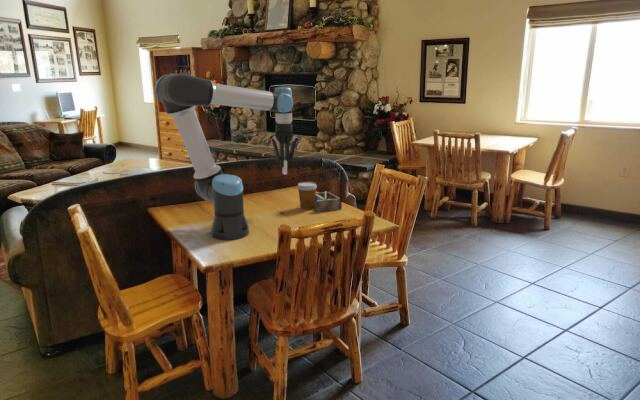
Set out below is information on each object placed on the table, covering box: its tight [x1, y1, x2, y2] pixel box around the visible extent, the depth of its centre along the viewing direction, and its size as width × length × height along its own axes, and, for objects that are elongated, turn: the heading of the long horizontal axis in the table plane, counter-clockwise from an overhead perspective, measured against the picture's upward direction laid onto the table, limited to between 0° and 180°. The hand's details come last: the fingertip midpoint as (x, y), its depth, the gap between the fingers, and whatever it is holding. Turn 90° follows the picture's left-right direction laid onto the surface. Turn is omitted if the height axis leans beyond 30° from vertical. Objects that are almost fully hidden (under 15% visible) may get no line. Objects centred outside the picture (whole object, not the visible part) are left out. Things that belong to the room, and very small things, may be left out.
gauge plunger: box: [314, 190, 327, 206], centre depth 220 cm, size 6×11×9 cm, turn 22°
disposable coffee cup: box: [296, 181, 318, 211], centre depth 217 cm, size 10×10×12 cm
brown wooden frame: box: [315, 191, 343, 213], centre depth 220 cm, size 12×16×5 cm
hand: (284, 173), depth 209 cm, fingers closed
